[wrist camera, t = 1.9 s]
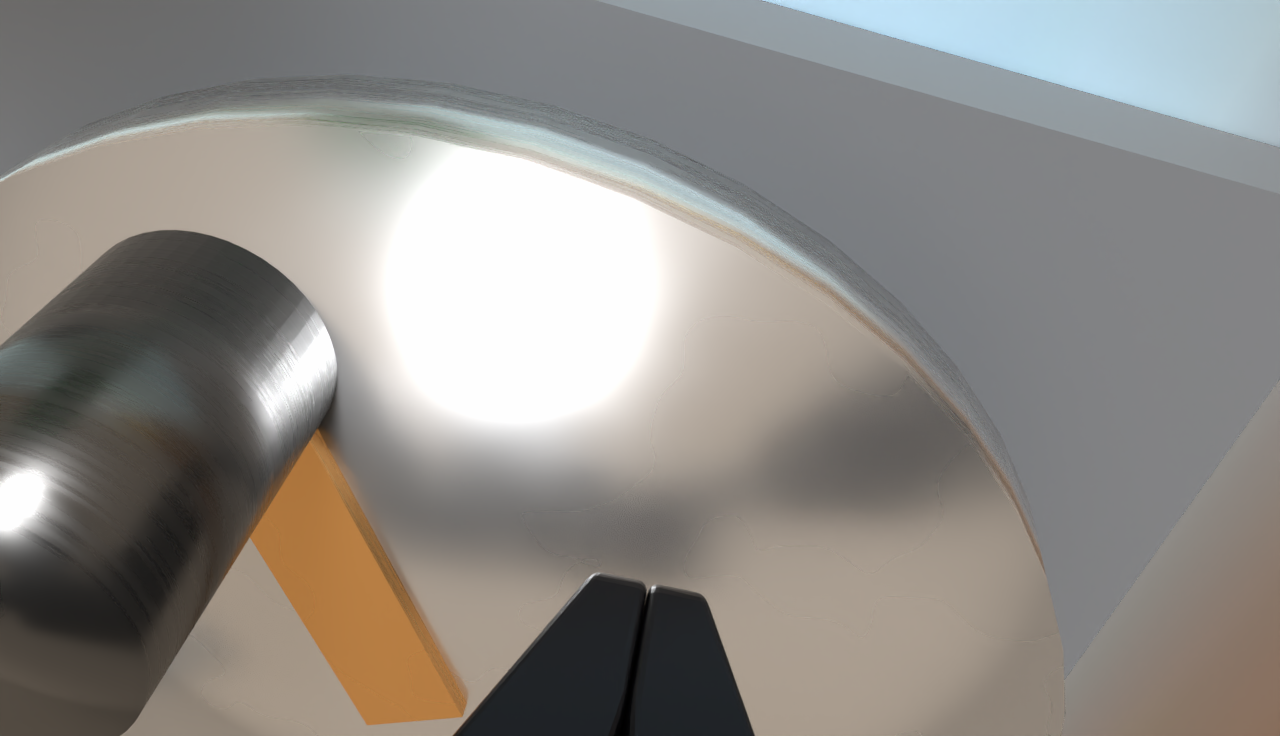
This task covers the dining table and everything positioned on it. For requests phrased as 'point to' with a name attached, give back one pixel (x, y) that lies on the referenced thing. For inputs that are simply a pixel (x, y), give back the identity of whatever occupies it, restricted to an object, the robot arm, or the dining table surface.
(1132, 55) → the dining table surface
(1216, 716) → the dining table surface
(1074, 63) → the dining table surface
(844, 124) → the wheel base
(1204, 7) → the dining table surface
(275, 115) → the handwheel
